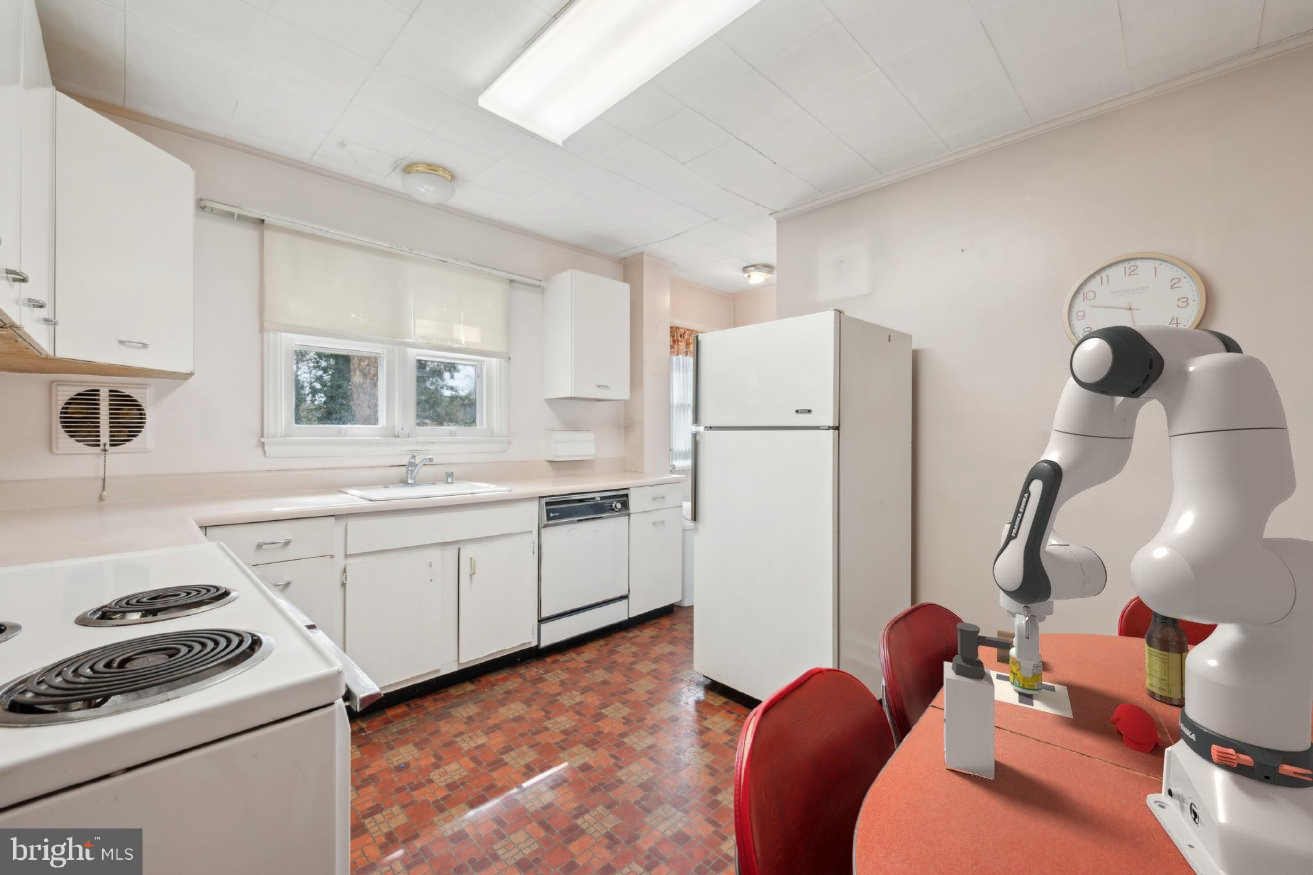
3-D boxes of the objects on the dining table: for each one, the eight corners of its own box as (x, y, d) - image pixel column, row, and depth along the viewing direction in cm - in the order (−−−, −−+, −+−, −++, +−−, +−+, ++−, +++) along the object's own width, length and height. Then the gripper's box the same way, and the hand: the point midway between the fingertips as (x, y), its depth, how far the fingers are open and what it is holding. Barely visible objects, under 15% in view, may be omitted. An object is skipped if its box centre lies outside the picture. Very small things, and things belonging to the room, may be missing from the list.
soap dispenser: (1012, 785, 79) (1013, 639, 78) (945, 768, 83) (945, 630, 82) (1006, 760, 85) (1006, 625, 84) (943, 746, 88) (943, 616, 88)
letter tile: (1073, 721, 96) (1073, 718, 96) (982, 699, 103) (982, 696, 103) (1066, 689, 107) (1066, 686, 107) (985, 672, 115) (985, 669, 115)
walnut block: (1029, 671, 116) (1029, 644, 115) (996, 664, 119) (997, 638, 119) (1028, 661, 120) (1028, 635, 120) (997, 655, 124) (997, 629, 124)
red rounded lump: (1104, 707, 94) (1100, 700, 91) (1147, 705, 91) (1144, 698, 88) (1125, 758, 90) (1121, 754, 86) (1170, 759, 86) (1169, 753, 83)
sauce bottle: (1170, 691, 106) (1171, 594, 106) (1199, 708, 100) (1200, 604, 99) (1135, 690, 107) (1136, 593, 106) (1162, 706, 100) (1163, 603, 100)
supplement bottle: (1046, 696, 102) (1046, 647, 102) (1013, 692, 104) (1013, 644, 103) (1036, 684, 107) (1036, 637, 107) (1006, 680, 109) (1006, 634, 108)
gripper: (1048, 618, 95) (1048, 694, 95) (1043, 589, 112) (1043, 654, 112) (1006, 612, 98) (1006, 685, 98) (1007, 585, 115) (1007, 647, 115)
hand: (1026, 668), depth 105 cm, fingers closed on supplement bottle, 5 cm apart
